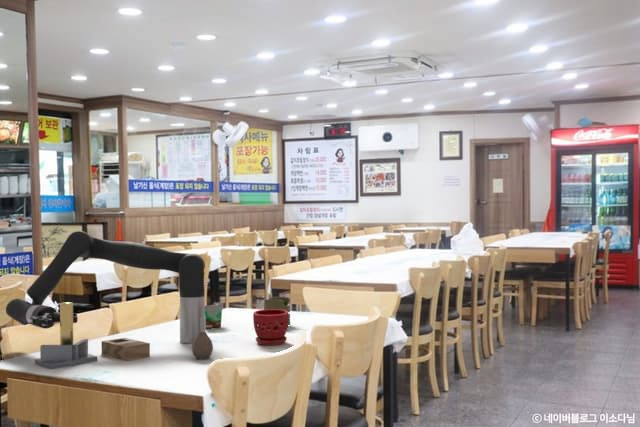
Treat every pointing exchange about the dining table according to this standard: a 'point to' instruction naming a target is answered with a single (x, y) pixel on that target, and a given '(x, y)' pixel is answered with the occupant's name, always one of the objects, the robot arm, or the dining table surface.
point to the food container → (213, 315)
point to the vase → (202, 346)
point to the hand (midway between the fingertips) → (63, 321)
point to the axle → (66, 323)
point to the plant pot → (270, 326)
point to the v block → (64, 355)
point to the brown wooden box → (126, 349)
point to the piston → (278, 304)
